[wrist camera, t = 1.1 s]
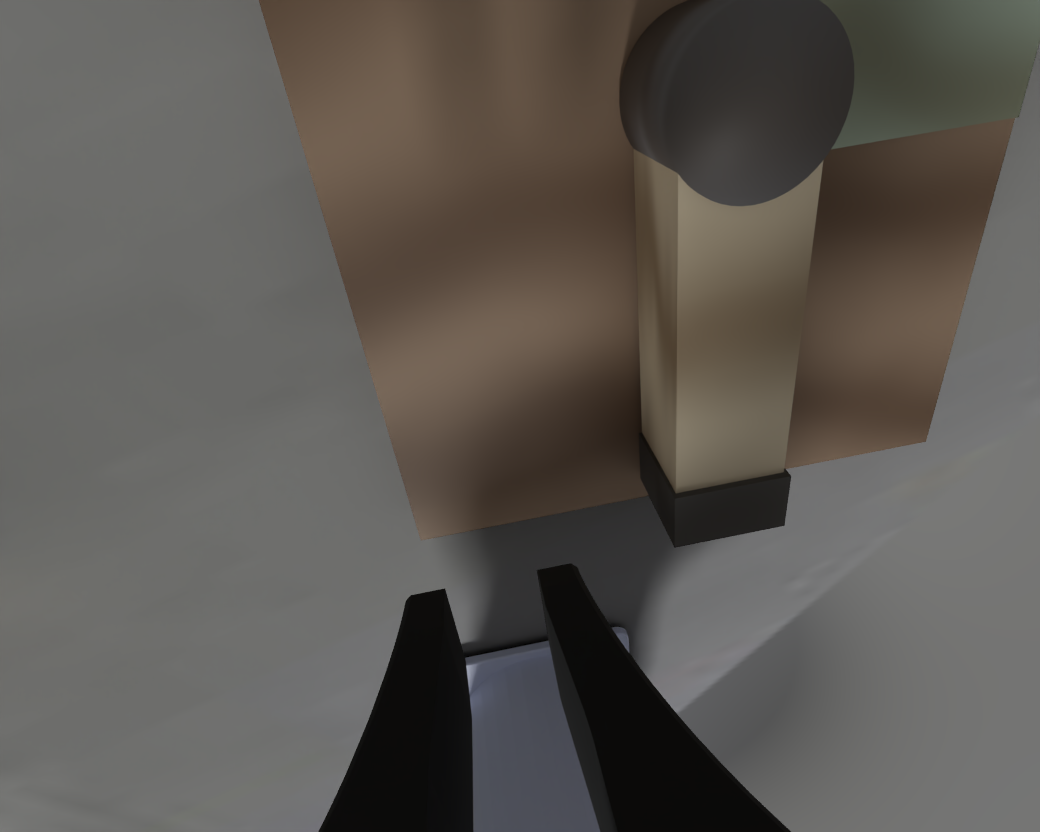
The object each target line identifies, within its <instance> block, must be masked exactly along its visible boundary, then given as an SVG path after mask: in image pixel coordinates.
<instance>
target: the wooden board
mask: <svg viewBox="0 0 1040 832" xmlns="http://www.w3.org/2000/svg"><path fill="white" fill-rule="evenodd" d="M685 1H688V0H259V3H260V6H261V9H262V13H263V16H264V19H265V23H266V26H267V29H268V33H269V36H270V39H271V43H272V46H273V49H274V53H275V56H276V59H277V63H278V66H279V69H280V73H281V76H282V79H283V83H284V86H285V89H286V93H287V96H288V99H289V103H290V106H291V109H292V113H293V116H294V119H295V123H296V126H297V129H298V133H299V136H300V139H301V143H302V146H303V149H304V153H305V156H306V159H307V163H308V166H309V169H310V172H311V176H312V179H313V182H314V186H315V189H316V192H317V196H318V199H319V202H320V206H321V209H322V212H323V216H324V219H325V222H326V226H327V229H328V232H329V236H330V239H331V242H332V246H333V249H334V252H335V256H336V259H337V262H338V266H339V269H340V272H341V276H342V279H343V282H344V286H345V289H346V292H347V296H348V299H349V302H350V306H351V309H352V312H353V316H354V319H355V322H356V326H357V329H358V332H359V336H360V339H361V342H362V346H363V349H364V352H365V356H366V359H367V362H368V366H369V369H370V372H371V376H372V379H373V382H374V386H375V389H376V392H377V396H378V399H379V402H380V406H381V409H382V412H383V416H384V419H385V422H386V426H387V429H388V432H389V436H390V439H391V442H392V446H393V449H394V452H395V456H396V459H397V462H398V466H399V469H400V472H401V476H402V479H403V482H404V486H405V489H406V492H407V496H408V499H409V502H410V506H411V509H412V512H413V516H414V519H415V522H416V526H417V529H418V532H419V536H420V539H421V540H426V539H431V538H436V537H441V536H446V535H452V534H457V533H462V532H467V531H472V530H477V529H482V528H487V527H492V526H497V525H503V524H508V523H513V522H518V521H523V520H528V519H533V518H538V517H543V516H548V515H554V514H559V513H564V512H569V511H574V510H579V509H584V508H589V507H594V506H599V505H605V504H610V503H615V502H620V501H625V500H630V499H635V498H640V497H645V496H649V495H648V493H647V491H646V489H645V487H644V485H643V483H642V481H641V479H640V454H639V433H640V432H642V417H641V384H640V350H639V317H638V283H637V250H636V216H635V182H634V149H633V147H632V146H631V144H630V142H629V140H628V139H627V137H626V134H625V131H624V128H623V125H622V121H621V116H620V107H619V94H620V86H621V80H622V75H623V71H624V68H625V65H626V63H627V60H628V57H629V55H630V53H631V51H632V49H633V47H634V45H635V44H636V42H637V41H638V39H639V38H640V36H641V35H642V34H643V32H644V31H645V30H646V29H647V27H648V26H649V25H650V24H651V23H652V22H653V21H654V20H655V19H656V18H658V17H659V16H660V15H662V14H663V13H664V12H666V11H667V10H669V9H670V8H672V7H674V6H676V5H678V4H680V3H683V2H685ZM820 1H821V2H822V3H824V4H825V5H826V6H828V7H829V8H830V9H831V11H832V12H833V13H834V14H835V15H836V16H837V17H838V19H839V20H840V22H841V23H842V25H843V27H844V29H845V31H846V33H847V36H848V38H849V41H850V45H851V48H852V53H853V59H854V77H855V78H854V89H853V95H852V100H851V105H850V109H849V112H848V115H847V118H846V121H845V123H844V126H843V128H842V131H841V133H840V135H839V137H838V138H837V140H836V142H835V144H834V146H833V147H832V149H831V150H830V152H829V153H828V155H827V156H826V157H825V159H824V160H823V167H822V175H821V183H820V191H819V199H818V207H817V215H816V223H815V230H814V238H813V246H812V254H811V262H810V270H809V278H808V286H807V293H806V301H805V309H804V317H803V325H802V333H801V341H800V349H799V356H798V364H797V372H796V380H795V388H794V396H793V404H792V412H791V419H790V427H789V435H788V443H787V451H786V459H785V467H784V468H785V469H788V468H793V467H798V466H803V465H809V464H814V463H819V462H824V461H829V460H834V459H839V458H844V457H849V456H854V455H860V454H865V453H870V452H875V451H880V450H885V449H890V448H895V447H900V446H905V445H911V444H916V443H921V442H926V439H927V435H928V432H929V428H930V424H931V421H932V417H933V414H934V410H935V406H936V403H937V399H938V395H939V392H940V388H941V385H942V381H943V377H944V374H945V370H946V366H947V363H948V359H949V355H950V352H951V348H952V345H953V341H954V337H955V334H956V330H957V326H958V323H959V319H960V316H961V312H962V308H963V305H964V301H965V297H966V294H967V290H968V287H969V283H970V279H971V276H972V272H973V268H974V265H975V261H976V258H977V254H978V250H979V247H980V243H981V239H982V236H983V232H984V229H985V225H986V221H987V218H988V214H989V210H990V207H991V203H992V200H993V196H994V192H995V189H996V185H997V181H998V178H999V174H1000V171H1001V167H1002V163H1003V160H1004V156H1005V152H1006V149H1007V145H1008V141H1009V138H1010V134H1011V131H1012V127H1013V123H1014V120H1015V118H1017V117H1019V114H1020V110H1021V107H1022V103H1023V99H1024V96H1025V92H1026V89H1027V85H1028V81H1029V78H1030V74H1031V71H1032V67H1033V63H1034V60H1035V56H1036V53H1037V49H1038V45H1039V42H1040V0H820Z"/></svg>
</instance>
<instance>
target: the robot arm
mask: <svg viewBox="0 0 1040 832" xmlns="http://www.w3.org/2000/svg"><path fill="white" fill-rule="evenodd" d="M537 574H538V580H539V586H540V592H541V598H542V604H543V610H544V616H545V622H546V628H547V634H548V640H549V641H544V642H539V643H534V644H530V645H525V646H520V647H515V648H510V649H505V650H500V651H496V652H491V653H486V654H481V655H476V656H471V657H466V658H465V657H464V653H463V650H462V646H461V643H460V639H459V636H458V632H457V629H456V625H455V622H454V618H453V615H452V611H451V608H450V605H449V601H448V598H447V594H446V591H445V589H440V590H435V591H430V592H425V593H420V594H415V595H411V596H410V597H409V598H408V599H407V601H406V603H405V608H404V612H403V617H402V621H401V624H400V628H399V632H398V635H397V639H396V642H395V646H394V649H393V652H392V655H391V658H390V661H389V664H388V668H387V671H386V674H385V676H384V679H383V682H382V685H381V687H380V690H379V693H378V696H377V698H376V701H375V704H374V707H373V710H372V712H371V715H370V718H369V720H368V723H367V725H366V728H365V730H364V732H363V735H362V737H361V740H360V742H359V744H358V747H357V749H356V751H355V754H354V756H353V759H352V761H351V763H350V766H349V768H348V770H347V773H346V775H345V777H344V780H343V782H342V784H341V786H340V788H339V790H338V793H337V795H336V797H335V799H334V801H333V803H332V805H331V807H330V809H329V812H328V814H327V816H326V818H325V820H324V822H323V824H322V826H321V828H320V830H319V832H791V831H790V830H789V829H788V828H786V827H785V826H784V825H783V824H782V823H781V822H780V821H779V820H778V819H777V818H776V817H775V816H774V815H773V814H772V813H770V812H769V811H768V810H767V809H766V808H765V807H764V806H763V805H762V804H761V803H760V802H759V801H758V800H757V799H756V798H755V797H754V796H753V795H752V794H750V793H749V791H748V790H746V788H745V787H744V786H743V785H742V784H741V783H740V782H739V781H738V780H737V779H736V778H735V777H734V776H733V775H732V774H731V773H730V772H729V771H728V770H727V769H726V768H725V767H724V766H723V765H722V764H721V763H720V762H719V761H718V759H717V758H716V757H715V756H714V755H713V754H712V753H711V752H710V751H709V750H708V749H707V747H706V746H705V745H704V744H703V743H702V742H701V741H700V740H699V739H698V738H697V737H696V735H695V734H694V733H693V732H692V731H691V730H690V729H689V728H688V726H687V725H686V724H685V723H684V722H683V721H682V719H681V718H680V717H679V716H678V715H677V714H676V712H675V711H674V710H673V709H672V708H671V706H670V705H669V704H668V703H667V701H666V700H665V699H664V698H663V697H662V695H661V694H660V693H659V692H658V690H657V689H656V688H655V687H654V685H653V684H652V683H651V682H650V680H649V679H648V678H647V676H646V675H645V674H644V673H643V671H642V670H641V669H640V667H639V666H638V664H637V663H636V662H635V660H634V659H633V658H632V656H631V655H630V653H629V638H628V635H627V632H626V630H625V629H624V628H622V627H612V628H611V626H610V625H609V623H608V622H607V620H606V619H605V617H604V615H603V614H602V612H601V611H600V609H599V608H598V606H597V604H596V603H595V601H594V599H593V598H592V596H591V594H590V592H589V590H588V589H587V587H586V585H585V583H584V581H583V579H582V577H581V575H580V573H579V570H578V568H577V567H576V566H574V565H572V564H571V563H570V564H565V565H560V566H555V567H550V568H545V569H540V570H537Z"/></svg>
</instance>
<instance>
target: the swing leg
mask: <svg viewBox="0 0 1040 832" xmlns="http://www.w3.org/2000/svg"><path fill="white" fill-rule="evenodd" d="M854 78H855V77H854V59H853V53H852V48H851V45H850V41H849V38H848V36H847V33H846V31H845V29H844V27H843V25H842V23H841V22H840V20H839V19H838V17H837V16H836V15H835V14H834V13H833V12H832V11H831V9H830V8H829V7H828V6H826V5H825V4H824V3H822V2H821V1H820V0H688V1H685V2H683V3H680V4H678V5H676V6H674V7H672V8H670V9H669V10H667V11H666V12H664V13H663V14H662V15H660V16H659V17H658V18H656V19H655V20H654V21H653V22H652V23H651V24H650V25H649V26H648V27H647V29H646V30H645V31H644V32H643V34H642V35H641V36H640V38H639V39H638V41H637V42H636V44H635V45H634V47H633V49H632V51H631V53H630V55H629V57H628V60H627V63H626V65H625V68H624V71H623V75H622V80H621V86H620V94H619V107H620V116H621V121H622V125H623V128H624V131H625V134H626V137H627V139H628V140H629V142H630V144H631V146H632V147H633V149H634V182H635V216H636V250H637V283H638V317H639V350H640V384H641V417H642V432H640V433H639V454H640V479H641V481H642V483H643V485H644V487H645V489H646V491H647V493H648V495H649V497H650V499H651V501H652V503H653V505H654V507H655V509H656V511H657V513H658V515H659V517H660V519H661V521H662V523H663V525H664V527H665V529H666V531H667V533H668V535H669V537H670V539H671V541H672V543H673V545H674V547H680V546H685V545H690V544H695V543H700V542H705V541H710V540H715V539H720V538H725V537H730V536H735V535H740V534H745V533H750V532H755V531H760V530H765V529H770V528H775V527H780V526H784V525H785V517H786V510H787V503H788V495H789V488H790V481H791V475H790V474H789V473H788V472H787V471H786V469H785V468H784V467H785V459H786V451H787V443H788V435H789V427H790V419H791V412H792V404H793V396H794V388H795V380H796V372H797V364H798V356H799V349H800V341H801V333H802V325H803V317H804V309H805V301H806V293H807V286H808V278H809V270H810V262H811V254H812V246H813V238H814V230H815V223H816V215H817V207H818V199H819V191H820V183H821V175H822V167H823V160H824V159H825V157H826V156H827V155H828V153H829V152H830V150H831V149H832V147H833V146H834V144H835V142H836V140H837V138H838V137H839V135H840V133H841V131H842V128H843V126H844V123H845V121H846V118H847V115H848V112H849V109H850V105H851V100H852V95H853V89H854Z"/></svg>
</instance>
